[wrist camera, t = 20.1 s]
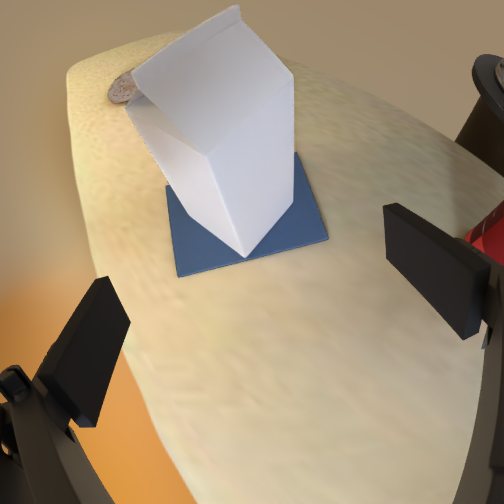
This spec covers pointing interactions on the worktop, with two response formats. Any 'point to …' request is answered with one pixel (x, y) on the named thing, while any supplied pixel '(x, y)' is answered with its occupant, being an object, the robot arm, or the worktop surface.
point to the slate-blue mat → (276, 240)
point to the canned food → (490, 234)
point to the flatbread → (122, 88)
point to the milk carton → (220, 127)
